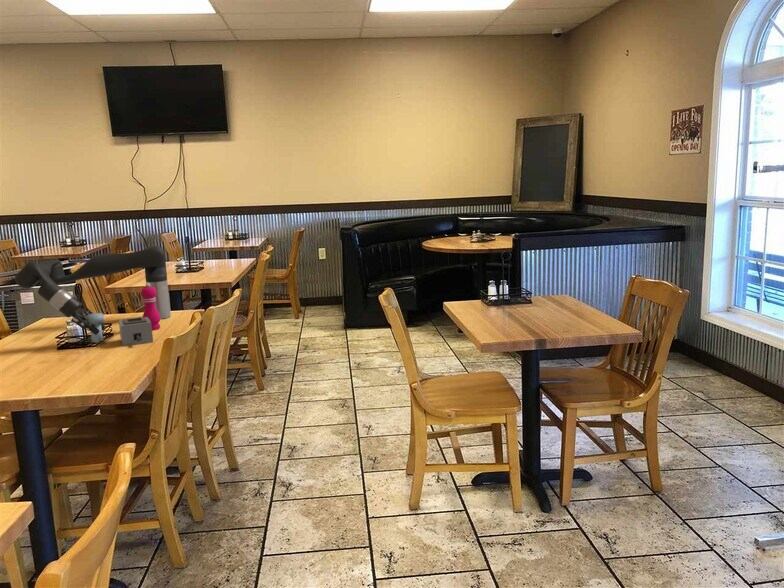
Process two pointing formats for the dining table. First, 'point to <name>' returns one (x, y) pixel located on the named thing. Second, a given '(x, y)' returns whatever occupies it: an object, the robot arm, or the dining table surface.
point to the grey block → (135, 330)
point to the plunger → (137, 336)
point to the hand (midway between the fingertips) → (100, 330)
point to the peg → (96, 325)
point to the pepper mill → (150, 306)
